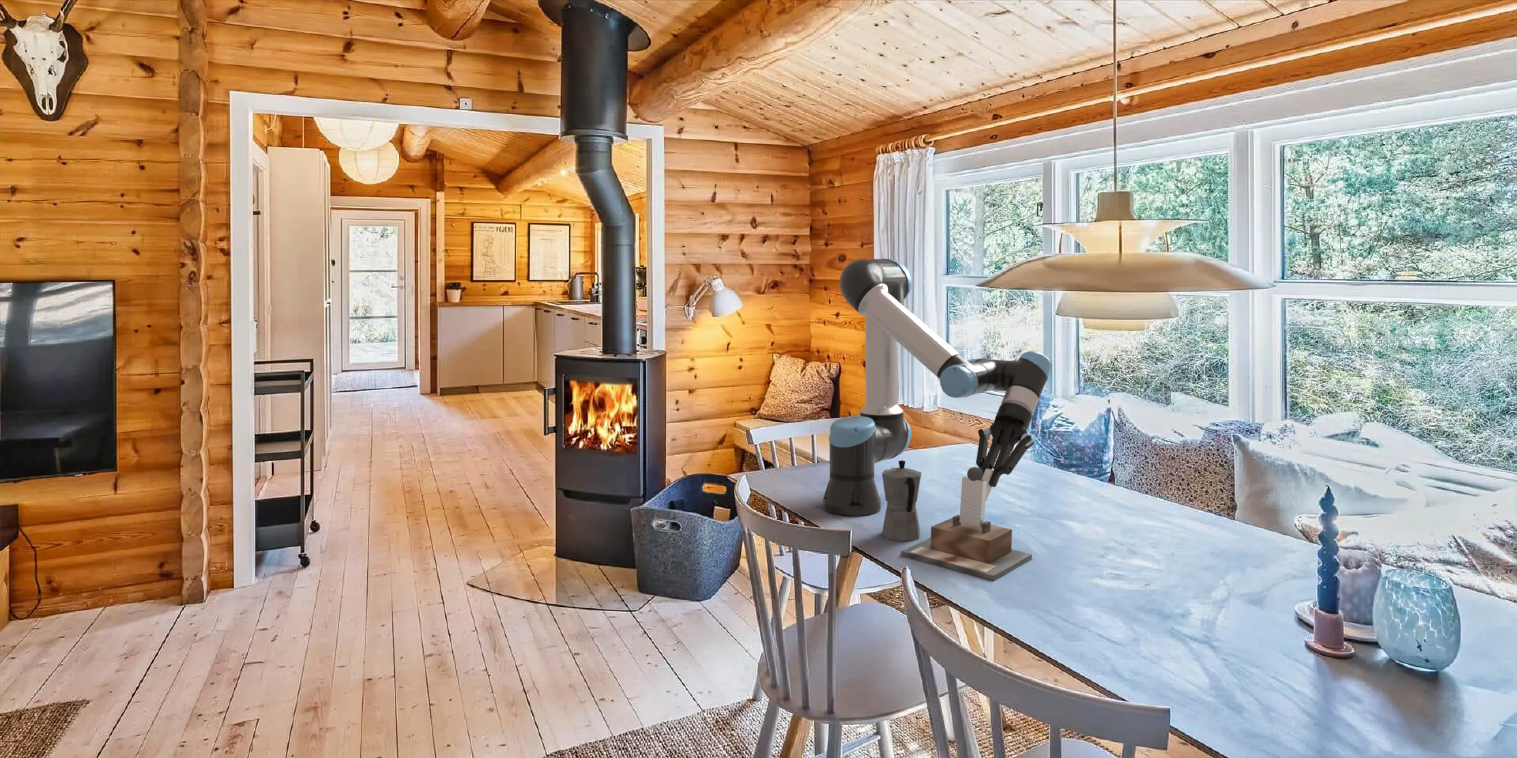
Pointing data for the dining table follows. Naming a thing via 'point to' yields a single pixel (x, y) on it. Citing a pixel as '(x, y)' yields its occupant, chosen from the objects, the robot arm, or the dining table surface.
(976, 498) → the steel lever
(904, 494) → the coffeepot
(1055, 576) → the dining table surface
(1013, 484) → the dining table surface
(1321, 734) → the dining table surface
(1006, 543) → the switch unit
